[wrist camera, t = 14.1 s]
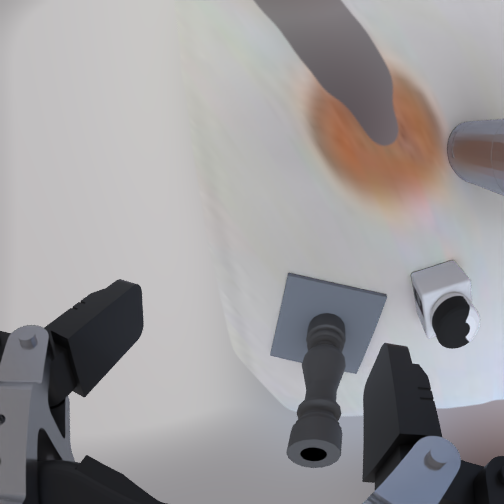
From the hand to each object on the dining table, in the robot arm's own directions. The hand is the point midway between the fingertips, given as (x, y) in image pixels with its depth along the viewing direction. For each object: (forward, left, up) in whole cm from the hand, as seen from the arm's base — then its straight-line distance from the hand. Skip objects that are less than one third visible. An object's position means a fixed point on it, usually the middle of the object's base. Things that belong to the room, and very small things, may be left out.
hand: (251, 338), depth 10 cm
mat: (-7, +23, -38) cm, 45 cm away
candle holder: (-7, +22, -37) cm, 44 cm away
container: (-23, +12, -38) cm, 46 cm away
